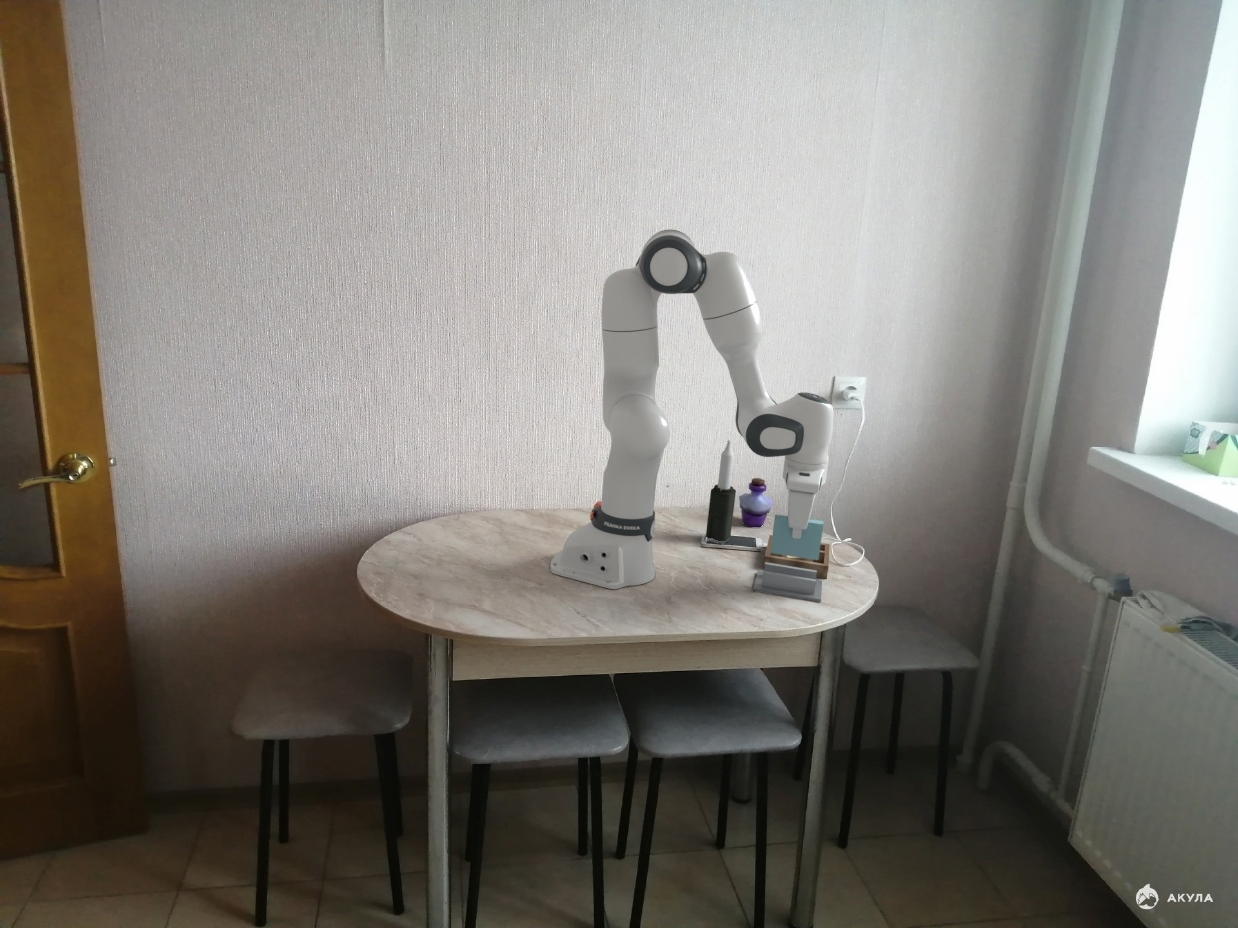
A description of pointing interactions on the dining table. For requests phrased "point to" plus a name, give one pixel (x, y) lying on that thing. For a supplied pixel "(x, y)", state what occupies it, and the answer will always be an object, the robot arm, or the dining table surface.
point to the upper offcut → (797, 558)
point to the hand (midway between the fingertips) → (796, 534)
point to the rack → (818, 565)
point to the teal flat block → (796, 547)
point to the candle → (722, 500)
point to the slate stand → (789, 582)
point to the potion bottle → (755, 504)
